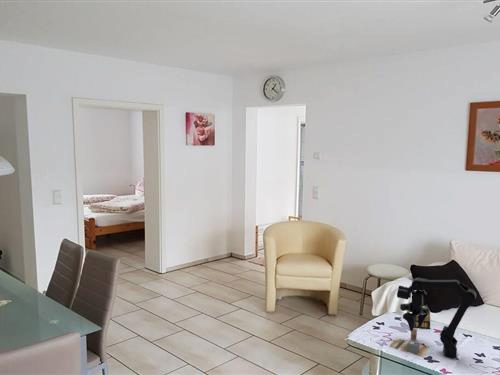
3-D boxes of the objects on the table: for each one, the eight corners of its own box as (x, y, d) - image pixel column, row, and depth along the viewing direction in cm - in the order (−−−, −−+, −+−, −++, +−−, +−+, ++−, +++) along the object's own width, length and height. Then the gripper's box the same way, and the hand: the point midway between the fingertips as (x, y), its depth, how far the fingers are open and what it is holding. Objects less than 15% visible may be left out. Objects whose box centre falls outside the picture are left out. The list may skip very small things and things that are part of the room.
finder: (419, 351, 222) (419, 342, 221) (416, 354, 218) (417, 346, 217) (409, 348, 225) (410, 340, 224) (406, 351, 221) (407, 343, 220)
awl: (417, 342, 235) (418, 330, 234) (412, 343, 234) (413, 331, 233) (414, 340, 237) (414, 328, 237) (409, 340, 237) (410, 328, 236)
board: (429, 349, 226) (430, 347, 226) (422, 359, 215) (423, 357, 215) (396, 339, 237) (397, 337, 237) (388, 348, 226) (388, 346, 226)
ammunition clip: (429, 328, 255) (430, 309, 254) (430, 329, 253) (431, 310, 252) (411, 326, 256) (412, 308, 255) (412, 328, 255) (413, 309, 254)
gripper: (411, 293, 238) (410, 320, 239) (394, 300, 226) (393, 328, 227) (430, 299, 229) (428, 326, 231) (413, 306, 217) (412, 335, 219)
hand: (415, 328), depth 227 cm, fingers open, 9 cm apart
